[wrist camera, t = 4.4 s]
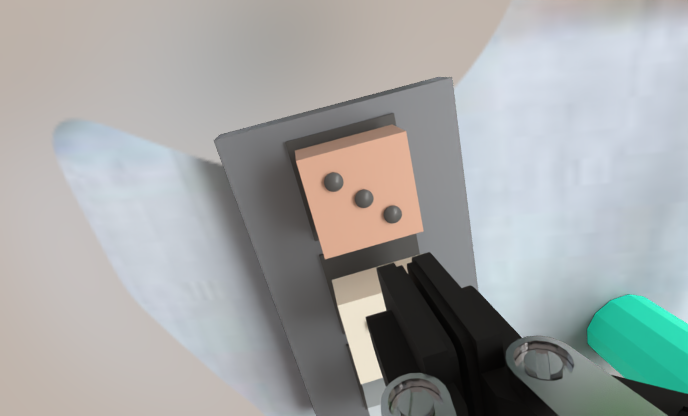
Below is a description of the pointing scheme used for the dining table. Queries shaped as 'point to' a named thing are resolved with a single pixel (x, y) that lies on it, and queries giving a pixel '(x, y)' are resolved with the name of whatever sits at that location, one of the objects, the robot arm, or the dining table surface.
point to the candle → (642, 342)
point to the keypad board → (300, 232)
